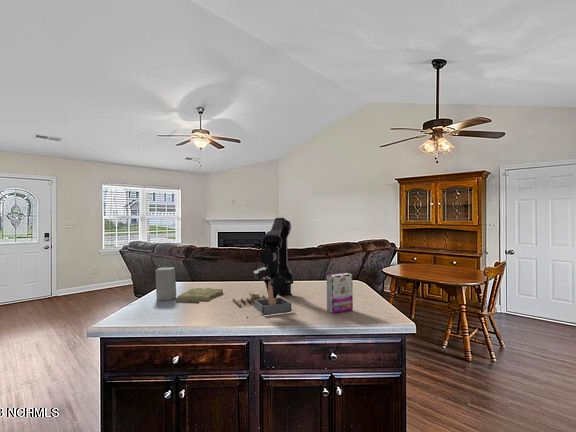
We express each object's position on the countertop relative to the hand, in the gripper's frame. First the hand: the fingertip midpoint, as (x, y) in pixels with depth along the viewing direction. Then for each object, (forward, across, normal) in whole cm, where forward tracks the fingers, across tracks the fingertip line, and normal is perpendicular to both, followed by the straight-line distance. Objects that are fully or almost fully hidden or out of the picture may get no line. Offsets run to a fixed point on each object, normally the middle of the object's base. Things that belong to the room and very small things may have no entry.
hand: (272, 296), depth 146 cm
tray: (+6, 0, 0) cm, 6 cm away
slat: (+4, 0, 0) cm, 4 cm away
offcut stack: (+6, -14, -4) cm, 15 cm away
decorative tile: (+7, -36, -25) cm, 45 cm away
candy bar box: (+6, +14, +27) cm, 31 cm away
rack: (+6, -14, -5) cm, 16 cm away
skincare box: (+6, -40, -42) cm, 59 cm away
